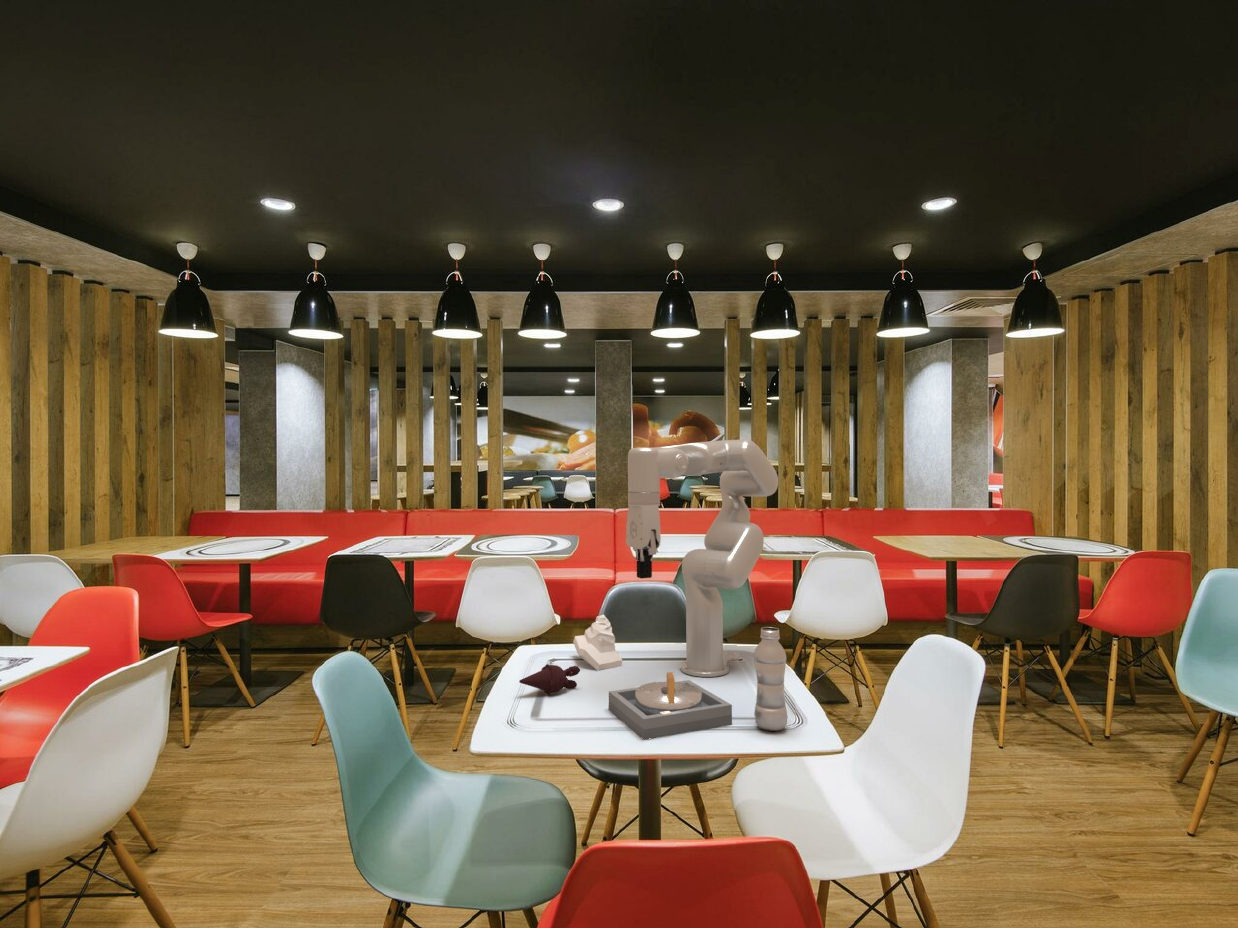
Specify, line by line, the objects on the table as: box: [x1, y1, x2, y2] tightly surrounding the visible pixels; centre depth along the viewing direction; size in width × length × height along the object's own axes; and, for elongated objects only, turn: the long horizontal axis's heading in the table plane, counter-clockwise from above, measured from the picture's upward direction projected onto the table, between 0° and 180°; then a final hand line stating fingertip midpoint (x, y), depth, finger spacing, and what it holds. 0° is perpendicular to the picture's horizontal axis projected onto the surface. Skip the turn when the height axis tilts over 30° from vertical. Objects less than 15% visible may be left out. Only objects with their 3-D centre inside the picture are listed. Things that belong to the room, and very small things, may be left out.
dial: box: [635, 671, 702, 715], centre depth 141 cm, size 14×14×8 cm
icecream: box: [518, 663, 581, 696], centre depth 157 cm, size 7×7×15 cm
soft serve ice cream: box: [573, 614, 623, 671], centre depth 182 cm, size 12×15×14 cm
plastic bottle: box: [753, 626, 789, 732], centre depth 135 cm, size 6×7×20 cm
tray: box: [608, 679, 733, 740], centre depth 141 cm, size 20×18×4 cm
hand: (644, 577), depth 157 cm, fingers closed
